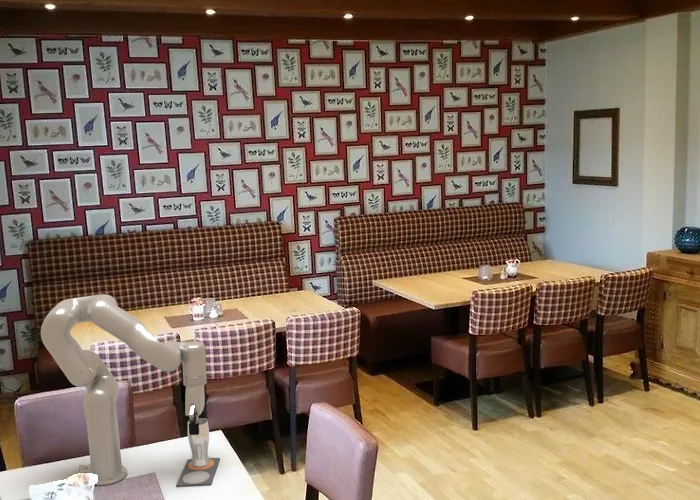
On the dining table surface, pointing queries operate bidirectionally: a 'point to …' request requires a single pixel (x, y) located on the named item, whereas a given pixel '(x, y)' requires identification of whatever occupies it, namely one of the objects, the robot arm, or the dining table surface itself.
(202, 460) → the beer glass
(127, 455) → the dining table surface
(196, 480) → the mat
